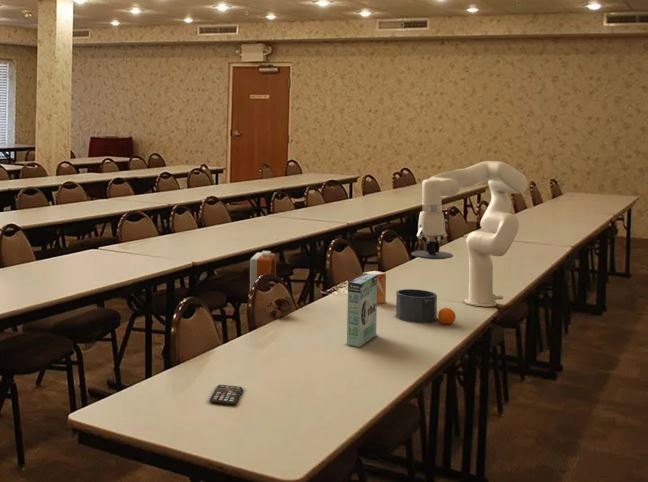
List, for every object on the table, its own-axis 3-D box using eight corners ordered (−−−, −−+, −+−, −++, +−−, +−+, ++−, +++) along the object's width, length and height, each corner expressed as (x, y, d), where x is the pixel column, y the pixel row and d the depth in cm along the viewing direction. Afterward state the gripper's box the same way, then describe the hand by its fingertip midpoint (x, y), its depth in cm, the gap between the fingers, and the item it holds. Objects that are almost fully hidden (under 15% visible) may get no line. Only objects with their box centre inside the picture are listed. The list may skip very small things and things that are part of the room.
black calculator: (242, 386, 248) (234, 403, 234) (242, 389, 248) (234, 405, 234) (218, 384, 250) (209, 400, 236) (218, 386, 250) (209, 402, 236)
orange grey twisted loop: (291, 314, 342) (295, 299, 337) (286, 329, 334) (290, 314, 330) (263, 304, 345) (266, 290, 341) (258, 319, 337) (261, 304, 333)
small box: (374, 304, 357) (374, 274, 357) (362, 302, 362) (362, 272, 362) (386, 302, 361) (386, 272, 361) (374, 299, 366) (374, 270, 366)
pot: (421, 311, 346) (421, 287, 345) (447, 323, 325) (447, 298, 325) (386, 312, 344) (387, 288, 344) (410, 324, 323) (410, 299, 323)
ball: (450, 322, 328) (450, 306, 328) (458, 326, 321) (458, 309, 321) (434, 322, 327) (435, 306, 327) (443, 326, 321) (443, 310, 321)
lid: (440, 252, 355) (440, 237, 355) (460, 259, 339) (460, 243, 339) (404, 253, 353) (404, 238, 353) (423, 260, 337) (423, 244, 337)
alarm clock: (269, 301, 363) (269, 254, 363) (249, 299, 366) (249, 253, 366) (275, 292, 380) (276, 248, 380) (256, 291, 383) (257, 247, 383)
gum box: (364, 333, 311) (364, 272, 310) (377, 335, 308) (378, 274, 307) (346, 345, 295) (346, 281, 295) (360, 347, 292) (360, 283, 292)
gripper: (445, 207, 351) (445, 250, 351) (409, 208, 349) (409, 251, 349) (455, 209, 343) (455, 253, 344) (418, 210, 341) (418, 254, 342)
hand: (432, 251), depth 346 cm, fingers closed on lid, 3 cm apart
